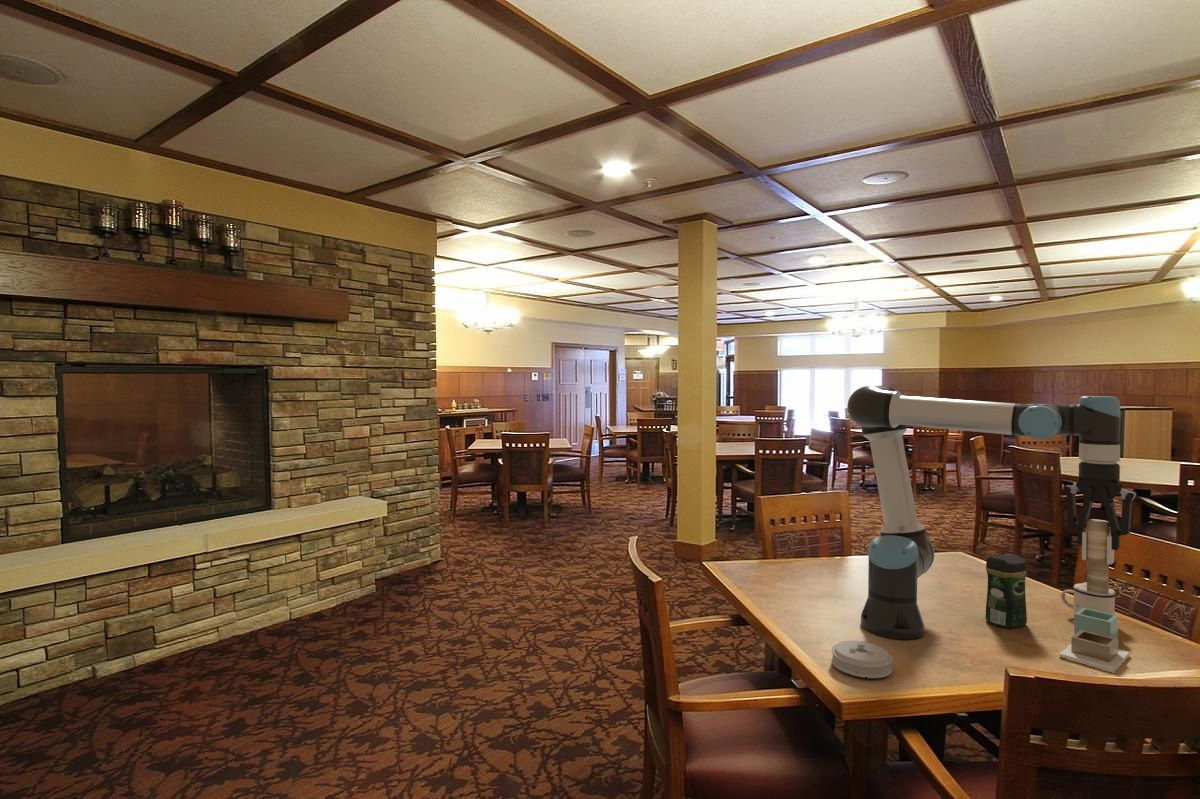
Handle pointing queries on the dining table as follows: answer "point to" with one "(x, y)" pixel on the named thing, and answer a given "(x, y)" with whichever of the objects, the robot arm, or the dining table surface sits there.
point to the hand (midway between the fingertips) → (1097, 560)
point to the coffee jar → (1006, 590)
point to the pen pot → (1096, 622)
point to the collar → (1094, 645)
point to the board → (1095, 662)
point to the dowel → (1097, 557)
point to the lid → (861, 659)
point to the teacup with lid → (1090, 599)
